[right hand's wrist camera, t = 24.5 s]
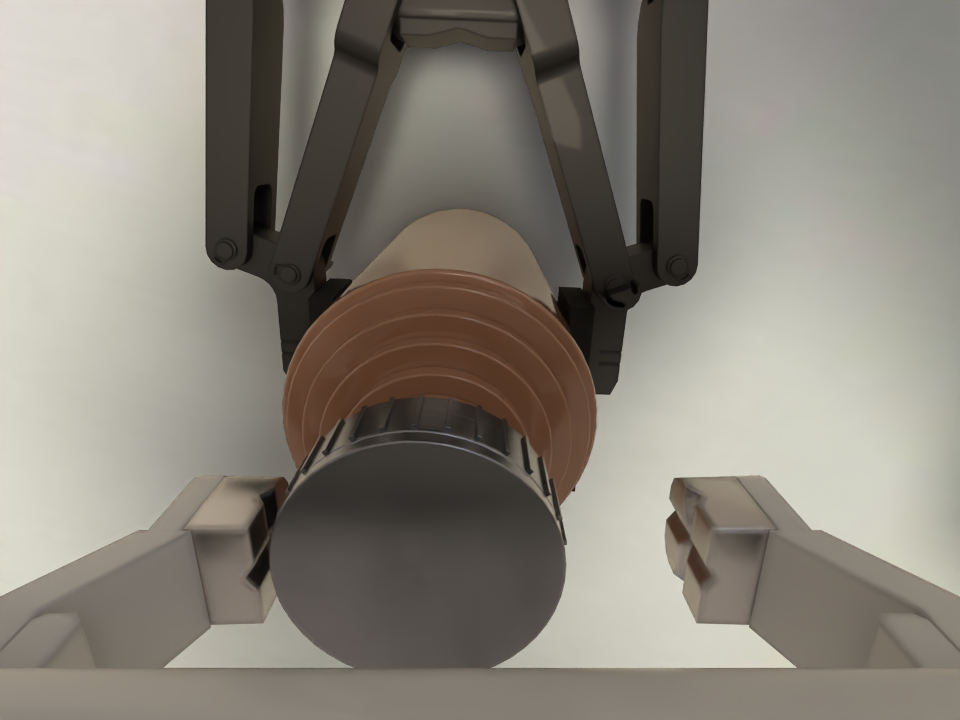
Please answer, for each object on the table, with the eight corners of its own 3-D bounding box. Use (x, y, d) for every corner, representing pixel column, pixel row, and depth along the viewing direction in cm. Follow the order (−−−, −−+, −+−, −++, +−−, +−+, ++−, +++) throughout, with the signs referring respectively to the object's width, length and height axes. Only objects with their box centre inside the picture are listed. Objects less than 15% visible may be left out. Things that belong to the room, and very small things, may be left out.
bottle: (404, 384, 26) (289, 735, 11) (355, 232, 24) (112, 393, 8) (556, 349, 26) (674, 666, 10) (522, 189, 23) (607, 274, 8)
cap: (251, 437, 9) (209, 489, 8) (514, 358, 9) (521, 398, 7) (355, 637, 11) (336, 711, 9) (585, 578, 10) (602, 647, 9)
